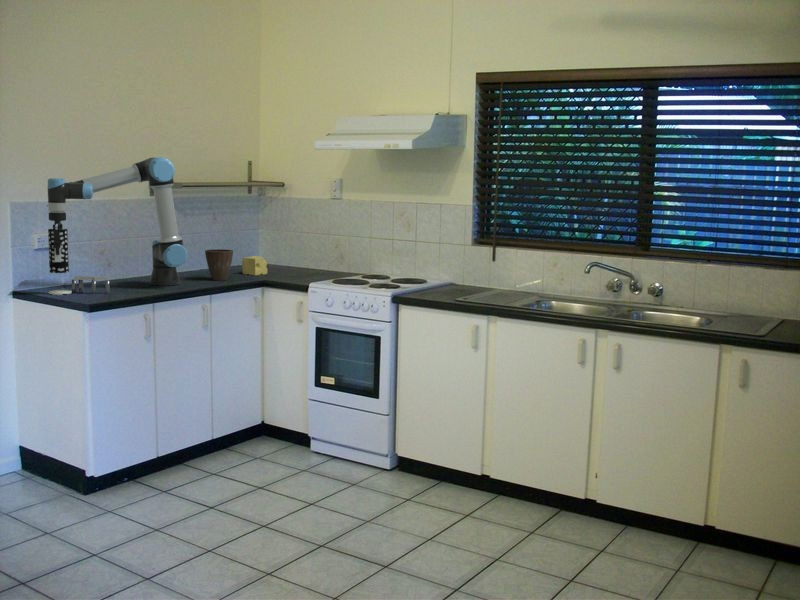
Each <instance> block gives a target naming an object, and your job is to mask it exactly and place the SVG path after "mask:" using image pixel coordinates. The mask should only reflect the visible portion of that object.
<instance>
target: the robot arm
mask: <svg viewBox="0 0 800 600" xmlns="http://www.w3.org/2000/svg"><path fill="white" fill-rule="evenodd" d="M175 172H176V170H175V166H174V164H173V163H172V161H171V160H169V159H168V158H165V157H162V156H158V157H153V156H152V157H150V158H146V159H144V160H142V161H138V162H135V163H132V165H131V166H128V167H125V168H121V169H117V170H113V171H110V172H105V173H102V174H99V175H94V176H91V177H87V178H83V179H80V180H77V181H76V180H75V181H70V182H66V179H65V178H60V177H59V178H58V177H57V178H54V177H53V178H52V177H51V178H49V179H47V205H46V207H47V208H48V221H53V222H54V224H52V229H53V230H54V246H53V248H54V251H55V262H61V248H60V247H61V246H60V230H62V229H64V228H63V227H64V226H63V223H62V222H64V221H65V222H66V221H67V212H66V211H67V203H66V202H67V201H66V200H91V199H92V198H93V196H94V194H95V193H97V192H102V191H105V190H109V189H112V188H113V189H114V188H116V187H120V186H125V185H128V184H132V183H136V182H137V183H139V184H140V183H144V182H148V183H149V184H148V185H149V187H150V188H151V189H152V190H153V194H154V202H155V207H156V208H155V209H156V215H157V221H158V228H159V234H160V235H159V236H160V238H159V239H154V240H152V244H151V248H152V251H151V252H152V271H151V274H150V277H149V285H151V286H157V285H158V286H159V287H160V286H161V287H162V286H163V285H164V286H166V285H167V287H168V285H170V286H177V285H181V280H180V276H179V273H178V271H177V268H179V267H181V266H182V265H184V264H185V263H186V261H187V259H188V251H187V249H186V247H184V242H183V240H184V239H183V237H181V236H180V235H179V229H178V228H179V227H178V223H177V217H176V211H175V204H174V203H175V202H174V195H173V189H172V188H173V186H174V184H175V183H174V182H175V181H174V176H175Z"/></svg>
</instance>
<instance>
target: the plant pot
mask: <svg viewBox="0 0 800 600" xmlns="http://www.w3.org/2000/svg"><path fill="white" fill-rule="evenodd" d="M204 254H205V259H206V263H207V268H208V271H209V274H210V276H211V279H212V280H213V281H217V282H218V281H220V282H221V281H226V280H227V279H228V277H229V273H230V270H231V267H232V262H233V254H234V250H233V249H223V248H222V249H220V248H219V249H216V248H215V249H205V250H204Z"/></svg>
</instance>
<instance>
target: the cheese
mask: <svg viewBox="0 0 800 600" xmlns="http://www.w3.org/2000/svg"><path fill="white" fill-rule="evenodd" d="M241 262H242V263H241V269H242V275H247V274H249V275H248V276H260V275H268V268H267V266H268V262H267V260H265V258H264V257H263V256H259V255H252V256H246V257H245V256H244V257H242V261H241Z"/></svg>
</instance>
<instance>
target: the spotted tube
mask: <svg viewBox="0 0 800 600" xmlns="http://www.w3.org/2000/svg"><path fill="white" fill-rule="evenodd" d="M68 232H69V231H68V228H62V230H60V246H61V247H60V248H61V262H55V251H54V248H53V246H54V230H53V228H48V229H47V236H48V237H47V238H48V259H49V260H48V261H49V262H48V263H49V273H51V274H67V273H69V272H70V271H69V270H70V267H69V266H70V265H69V262H70V261H69V238H68V235H69V234H68Z"/></svg>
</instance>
